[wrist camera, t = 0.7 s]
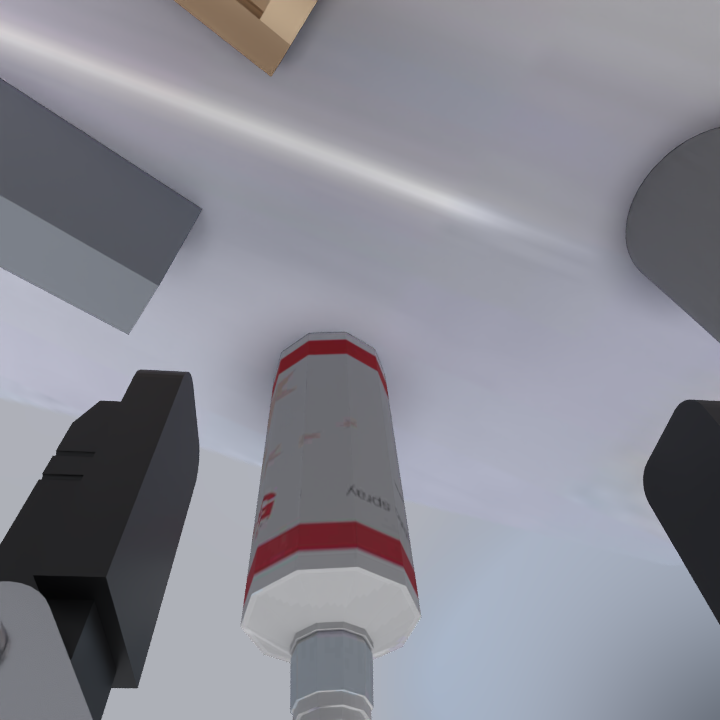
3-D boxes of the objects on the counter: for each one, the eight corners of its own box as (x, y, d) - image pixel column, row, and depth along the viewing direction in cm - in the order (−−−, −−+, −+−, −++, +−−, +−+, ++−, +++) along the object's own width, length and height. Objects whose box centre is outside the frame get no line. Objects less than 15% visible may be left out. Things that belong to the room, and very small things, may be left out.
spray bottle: (395, 404, 41) (467, 832, 20) (301, 432, 42) (276, 866, 21) (362, 316, 37) (407, 744, 16) (257, 349, 38) (173, 792, 17)
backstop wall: (-103, 11, 26) (-300, 23, 18) (202, 209, 32) (158, 285, 24) (-119, 68, 28) (-310, 103, 19) (177, 248, 34) (128, 334, 25)
